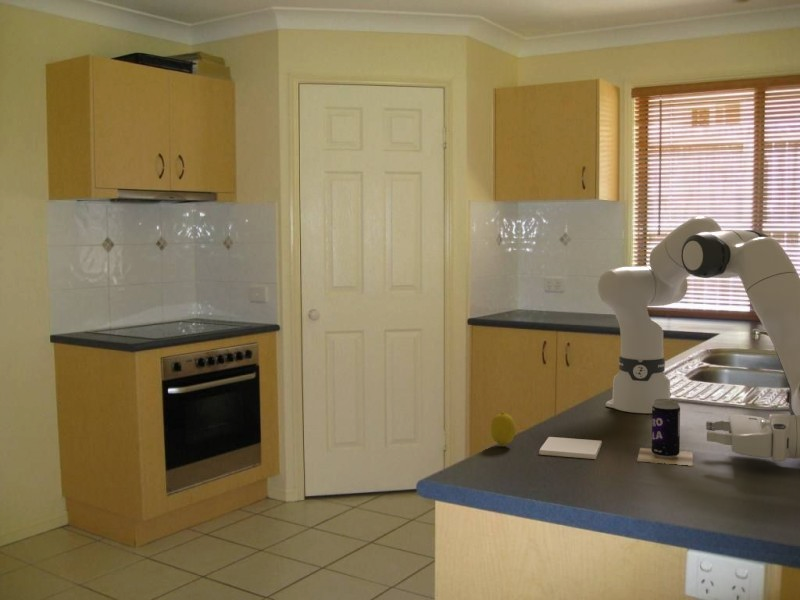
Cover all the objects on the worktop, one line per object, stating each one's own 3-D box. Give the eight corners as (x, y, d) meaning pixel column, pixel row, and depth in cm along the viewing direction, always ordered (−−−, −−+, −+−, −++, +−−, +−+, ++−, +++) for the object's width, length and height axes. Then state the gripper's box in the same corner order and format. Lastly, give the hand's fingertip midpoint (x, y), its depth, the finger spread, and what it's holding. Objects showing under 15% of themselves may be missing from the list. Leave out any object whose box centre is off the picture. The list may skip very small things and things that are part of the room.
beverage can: (657, 451, 178) (658, 397, 177) (683, 455, 174) (684, 400, 174) (647, 456, 174) (648, 401, 173) (673, 461, 170) (674, 404, 169)
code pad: (640, 448, 181) (640, 447, 181) (692, 452, 177) (692, 451, 177) (636, 461, 171) (636, 460, 171) (692, 466, 167) (692, 465, 167)
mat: (548, 441, 189) (548, 436, 189) (601, 445, 185) (601, 440, 184) (539, 454, 177) (539, 449, 177) (595, 459, 173) (595, 454, 173)
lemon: (501, 442, 188) (501, 408, 188) (520, 446, 184) (520, 411, 184) (485, 446, 184) (485, 412, 184) (505, 451, 180) (505, 415, 180)
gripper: (774, 409, 176) (706, 405, 180) (784, 432, 157) (707, 427, 161) (773, 438, 176) (705, 433, 181) (783, 464, 157) (706, 458, 162)
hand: (706, 430), depth 171 cm, fingers open, 8 cm apart
